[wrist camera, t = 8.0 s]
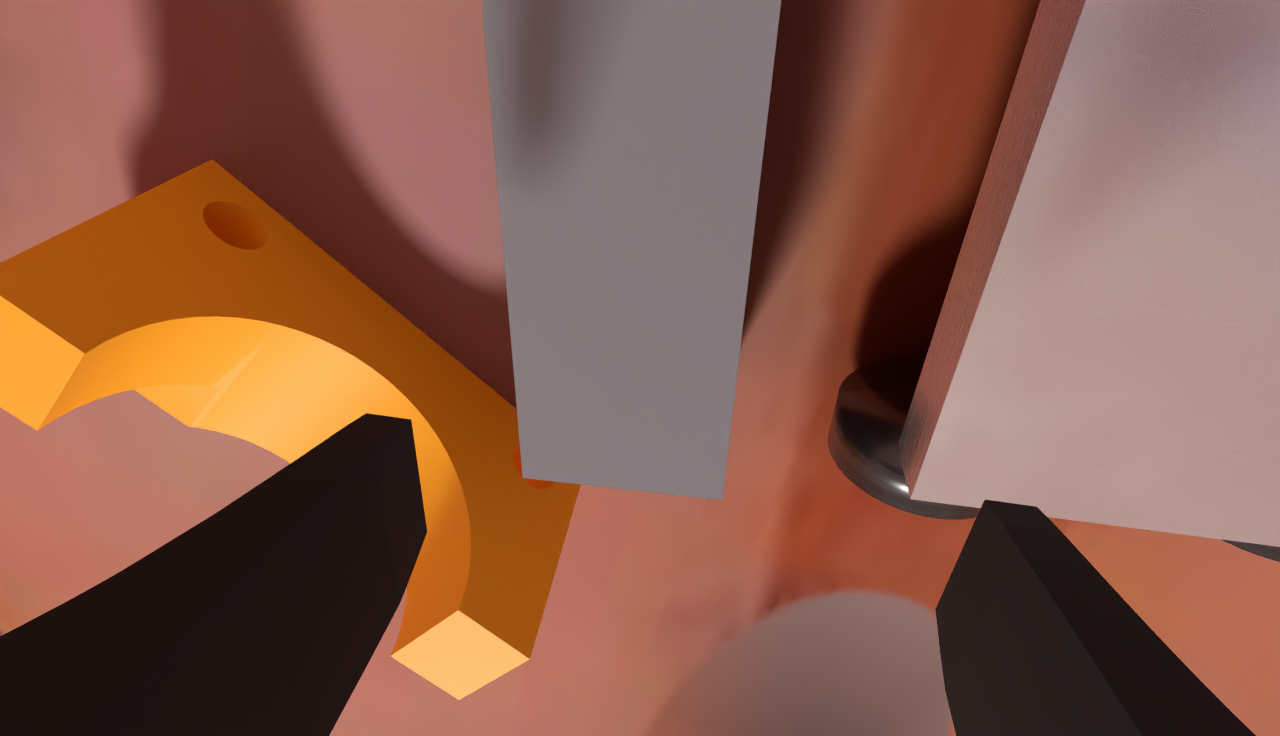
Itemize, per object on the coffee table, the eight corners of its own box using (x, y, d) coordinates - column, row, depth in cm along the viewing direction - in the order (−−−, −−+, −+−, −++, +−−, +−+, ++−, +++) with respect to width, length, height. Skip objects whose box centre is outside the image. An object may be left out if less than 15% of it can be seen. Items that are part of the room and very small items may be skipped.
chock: (790, -184, 12) (807, -222, 8) (730, 362, 18) (722, 500, 14) (558, -188, 13) (462, -227, 9) (574, 348, 19) (522, 478, 15)
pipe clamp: (146, 269, 19) (-90, 414, 14) (216, 157, 17) (-28, 276, 12) (495, 529, 23) (416, 724, 17) (587, 461, 21) (529, 659, 15)
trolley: (1685, -109, 11) (2688, -109, 5) (1289, 448, 17) (1556, 730, 12) (948, -150, 12) (1123, -186, 6) (821, 393, 18) (851, 628, 12)
